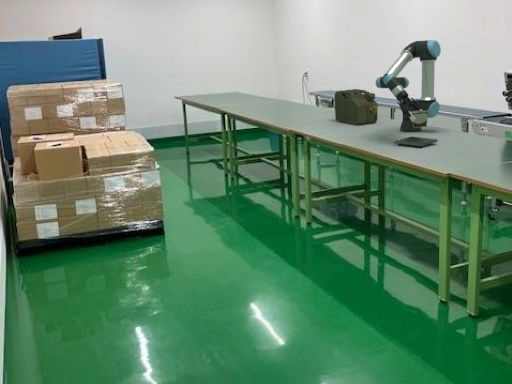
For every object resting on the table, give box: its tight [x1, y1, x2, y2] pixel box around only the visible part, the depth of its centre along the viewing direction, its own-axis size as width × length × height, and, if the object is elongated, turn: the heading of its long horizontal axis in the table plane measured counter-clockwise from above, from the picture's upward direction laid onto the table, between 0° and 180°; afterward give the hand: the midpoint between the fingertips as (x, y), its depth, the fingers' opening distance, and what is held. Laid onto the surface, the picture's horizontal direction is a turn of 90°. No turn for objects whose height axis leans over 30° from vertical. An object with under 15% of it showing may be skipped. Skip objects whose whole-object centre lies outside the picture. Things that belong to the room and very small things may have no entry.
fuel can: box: [334, 88, 379, 126], centre depth 452 cm, size 19×35×27 cm, turn 25°
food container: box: [411, 110, 429, 128], centre depth 344 cm, size 12×6×10 cm, turn 102°
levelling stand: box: [394, 136, 439, 149], centre depth 348 cm, size 18×20×4 cm
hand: (419, 119), depth 341 cm, fingers closed on food container, 11 cm apart
